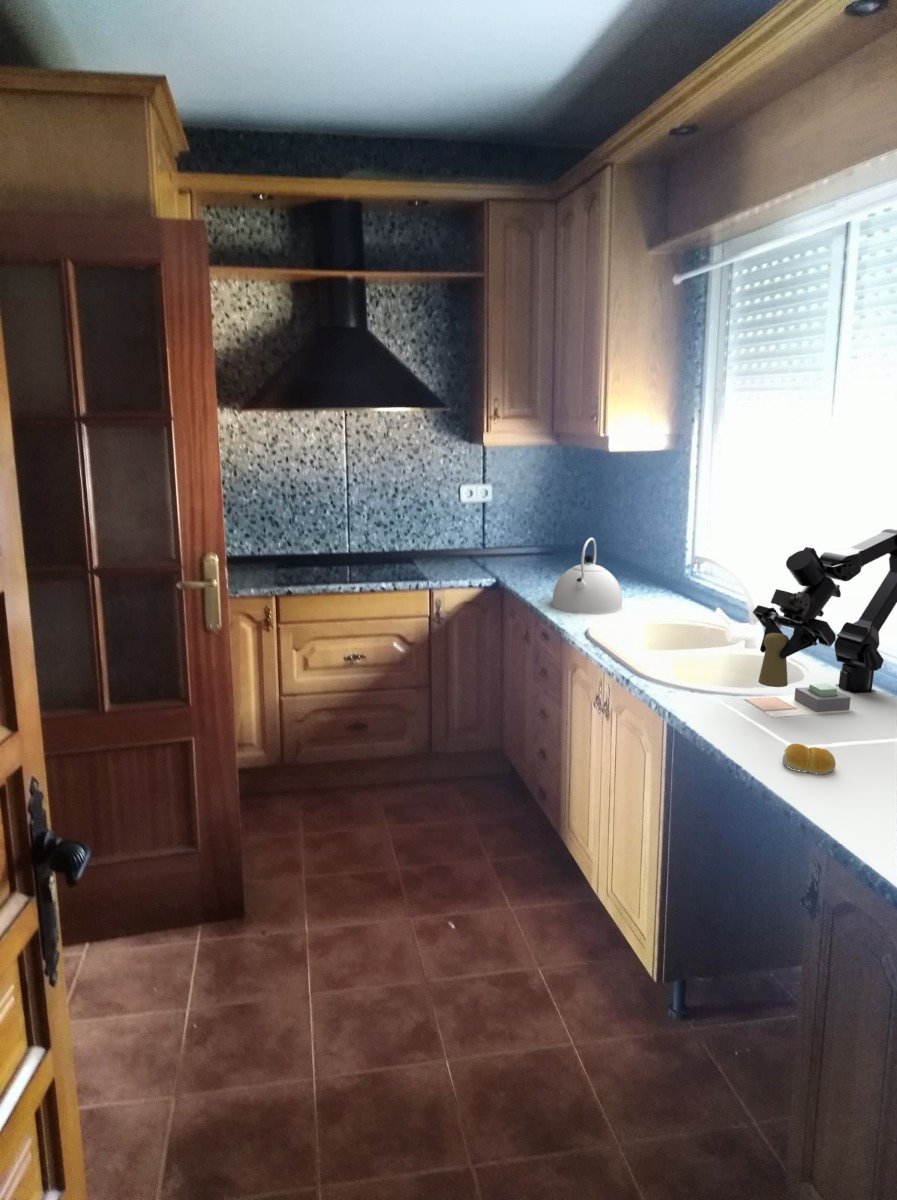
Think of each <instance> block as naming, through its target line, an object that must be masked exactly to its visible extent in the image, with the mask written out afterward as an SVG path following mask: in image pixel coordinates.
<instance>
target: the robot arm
mask: <svg viewBox="0 0 897 1200" xmlns="http://www.w3.org/2000/svg"><path fill="white" fill-rule="evenodd" d="M888 554H889V557H888V564H889V565H888V566H889V570H888V573H887V574H886V575H885V576H884V578H883V580H882V582H881V583H880V585H879V586H878V588H877V590H876V591H875V592H874V594H873V596H872V598H871V599H870V601H869V602H868V605H866V607H865V608H864V610H863V612H862V613H861V615H860V617H859V618H858V620H857V621H855V622H854V623H853V622H848V621H846V622H845V623H844V624H843V626H842V627H841V630H840V631H839V632H838V633H837V634H836V633H835V632H834V630H833V628H832V627H831V625H830V624H829V623H828V622H827V621H825V620H823V619H822V620H821V619H818V618H817V617H819V618H822V617H823V616H824V614H825V613H824V611H823V609H824V608H825V606H826V605H827V603H828V602H829V601H830V599H831V598H832V597H833V598H834V597H835V598H840V597H842V596H841V595H842V592H841V590H840V589H841V587H840V584H837V583H835V582H834V580H836V581H837V580H838V581H842V582H849V581H851V580H852V579H853V578H855V577H856V576H858V575H859V574H860V573H861V571H862V568H863V567H864V566H866V565H868V564H869V563H872V562H873V561H876V560H879V558H881V557H884V556H886V555H888ZM785 567H786V568H787V570H788V571H789V572H790V574H791V575H792V577H793V578H794V580H795V581H796V582H797V583H798V585H799V586H801V587H803V588H802V590H800V591H798V592H794V593H793V592H789V591H787V590H782V589H779V588H778V589H775V591H774V593H773V595H772V598H771V601H770V604H773V605H776V606H778V607H779V608H778V609H779V611H780V613H782V614H783V615H780V614H779V613H778V611H777V610H776V609H775V608H774V607H772V606H769V605H766V604H757V606H756V607H755V608H754V609H753V611H752V613H753V615H754V616H755V617H756V619H757V620H758V622H759V623H760V624H761V626H762V627H764V628H765V629H764V633H763V638H762V641H761V644H760V649H759V651H760V652H761V653H764V654H765V650H766V647H765V646H764V638H765V636H766V635H767V634H769V633H781V634H784V633H783V632H782V630H781V629H782V627H787V628H790V629H793V632H792V635H791V637H790V638H789V641H788V643H787V644H786V645H785V647H784V648H783V650H782V651H781V653H780V655H779V657H780V658H781V659H784V658H786V659H787V657H789V656H792V655H794V654H796V653H797V652H800V651H803V650H804V649H808V648H810V647H812V646H813V647H814V646H815V647H816V646H817V645H818V643H819V645H823V646H825V647H826V646H827V647H829V648H830V647H832V645H833V644H834V645H833V646H834V652H835V657H836V661H837V662H838V663H841V666H842V667H841V670H840V671H839V680H838V683H837V684H835V687H838V688H839V689H841V690H844V691H847V692H849V693H851V694H865V693H876V692H877V691H876V690H875V689H873V684H874V673H875V672H876V671H878V670H881V669H882V666H883V664H884V658H883V656H882V655H881V654H880V652H879V651H878V648H879V647H880V634H879V633H880V630H881V629H882V627H883V625H884V624H885V622H886V621H887V619H888V618H889V616H890V615H891V613H892V611H893V610H894V608H895V606H896V605H897V529H893V528H886V529H883V530H882V531H881V532H880V533H878V534H876V535H874V536H872V537H870V538H867V539H866V540H863V541H862V542H860V543H857V544H856V545H853V546H851V547H848V548H839V549H832V550H828V551H825V552H823V553H822V554H821V555H820V556H819V555H818V554H817V551H816V549H815V548H814V547H809V546H805V547H804V548H803V550H799V551H796V552H794V553H793V554H792V555H790V556H788V558H787V559H786V561H785ZM817 641H818V642H817Z"/></svg>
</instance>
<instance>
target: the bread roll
mask: <svg viewBox="0 0 897 1200" xmlns="http://www.w3.org/2000/svg"><path fill="white" fill-rule="evenodd" d="M782 764H783V766H784V767H786V766H788V767H790V768H792V769H791V770H793V769H795V770H800V771H806V772H807V773H810V772H811V773H810V774H812V773H817V774H816V775H818V774H822V775H826V774H829V773H831V772H833V771H834V770H835V768H836V759H835V756H834V755H833V754H832V752H830V751H829V750H827V749H825V748H820V747H814V746H812V747H808V746H806V745H804V744H800V743H790V744H789V745H788V746H787V747H786V748H785V749H784V754H783V755H782ZM788 767H787V768H788ZM790 768H789V769H790ZM795 770H794V771H795ZM806 772H805V773H806ZM825 773H826V774H825Z"/></svg>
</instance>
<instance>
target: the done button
mask: <svg viewBox="0 0 897 1200" xmlns="http://www.w3.org/2000/svg"><path fill="white" fill-rule="evenodd" d="M808 687H809V692H811V693H813V694H815V695H817V696H819V697H825V696H837V691H838V688H836V687H834V686H832V685H830V684H828V683H826V682H825V683H810V684H809V686H808Z"/></svg>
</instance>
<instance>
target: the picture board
mask: <svg viewBox="0 0 897 1200" xmlns="http://www.w3.org/2000/svg"><path fill="white" fill-rule="evenodd" d="M851 698H852V697H851V696H849V695H847V694H844V693H842V691H841V692H840V691H839V690H837V696H825V697H819V696H817V695H815V694H813V693H811V692H809V686H806V687H795V690H794V694H792V695H780V696H779V695H777V696H776V695H775V696H766V697H765V696H761V697H749V698H747V697H744V698H743V700H744V701H745V702H747V703H748V704H750V705H752V706H754V707H755V708H757V709H758V710H760V711H762V712H764V713H765V714H767V715H768V716H770V717H771V718H781V717H796V716H809V715H810V716H811V715H821V714H823V715H825V714H836V713H837V714H838V713H850V712H853V711H852V710H850V707H851V706H850V705H851Z"/></svg>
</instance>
